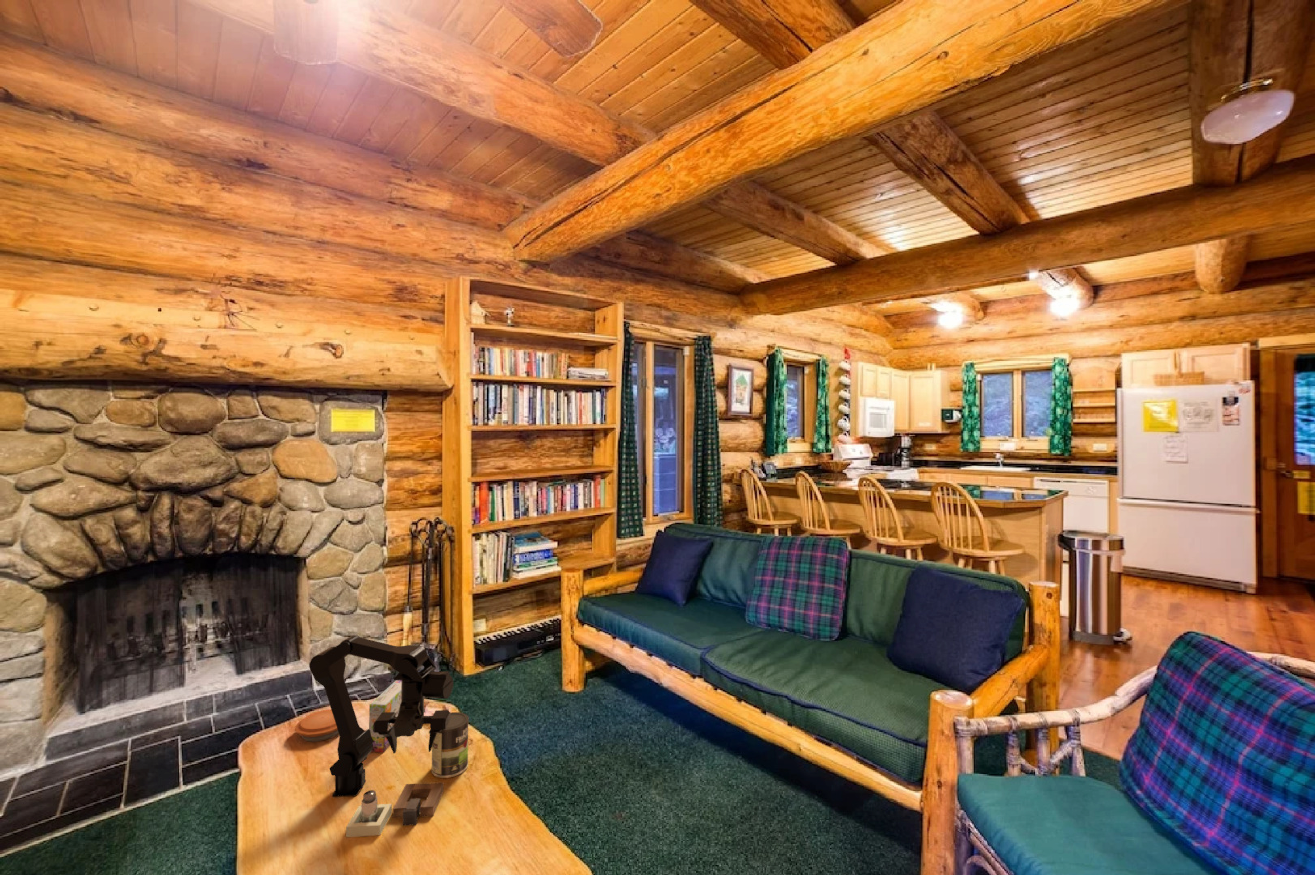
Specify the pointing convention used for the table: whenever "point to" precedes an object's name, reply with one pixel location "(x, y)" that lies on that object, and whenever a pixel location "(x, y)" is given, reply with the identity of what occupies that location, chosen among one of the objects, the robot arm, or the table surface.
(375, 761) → the table surface
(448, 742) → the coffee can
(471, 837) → the table surface
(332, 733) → the pie
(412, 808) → the dark grey block
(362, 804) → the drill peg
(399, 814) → the socket block
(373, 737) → the snack box
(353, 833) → the beige square frame
